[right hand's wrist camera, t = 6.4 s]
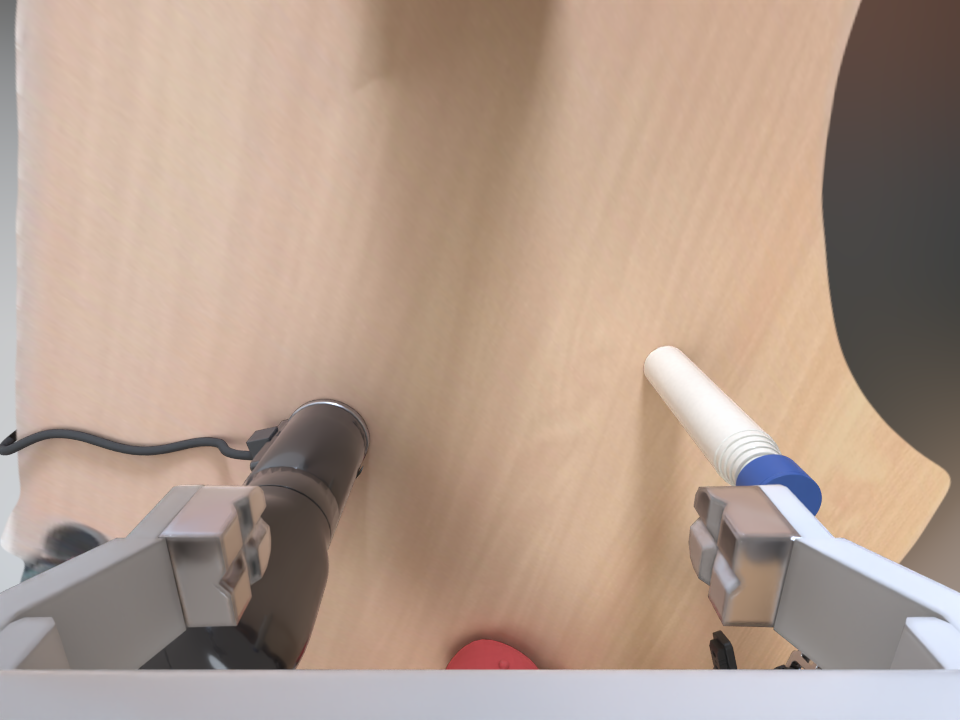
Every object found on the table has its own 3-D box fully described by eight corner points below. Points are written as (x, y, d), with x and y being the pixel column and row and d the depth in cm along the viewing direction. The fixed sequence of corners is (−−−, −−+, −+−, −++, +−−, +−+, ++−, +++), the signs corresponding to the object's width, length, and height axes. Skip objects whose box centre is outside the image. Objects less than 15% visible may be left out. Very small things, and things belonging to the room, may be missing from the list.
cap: (737, 514, 40) (754, 538, 38) (732, 461, 39) (749, 481, 36) (801, 502, 40) (822, 525, 37) (799, 447, 38) (821, 468, 36)
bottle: (646, 390, 62) (750, 536, 38) (640, 351, 60) (745, 477, 36) (689, 381, 61) (821, 522, 38) (684, 341, 60) (819, 462, 36)
